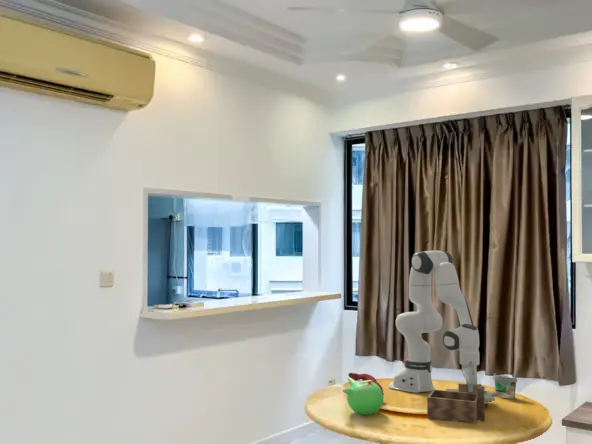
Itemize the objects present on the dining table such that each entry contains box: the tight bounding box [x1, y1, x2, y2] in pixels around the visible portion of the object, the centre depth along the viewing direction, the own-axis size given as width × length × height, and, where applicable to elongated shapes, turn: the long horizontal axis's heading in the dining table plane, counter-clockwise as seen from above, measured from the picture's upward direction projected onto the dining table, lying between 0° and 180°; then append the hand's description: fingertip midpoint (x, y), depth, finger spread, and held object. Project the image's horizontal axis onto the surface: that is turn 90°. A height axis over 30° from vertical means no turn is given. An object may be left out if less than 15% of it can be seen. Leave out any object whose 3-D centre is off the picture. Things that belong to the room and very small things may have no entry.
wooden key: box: [483, 386, 516, 400], centre depth 250 cm, size 13×2×4 cm, turn 67°
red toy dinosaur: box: [348, 372, 385, 396], centre depth 292 cm, size 28×9×15 cm
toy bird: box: [342, 376, 384, 416], centre depth 262 cm, size 18×17×15 cm
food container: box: [492, 372, 518, 398], centre depth 289 cm, size 12×6×10 cm, turn 37°
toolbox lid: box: [446, 383, 496, 403], centre depth 276 cm, size 19×14×6 cm
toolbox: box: [426, 385, 486, 425], centre depth 257 cm, size 22×14×13 cm, turn 67°
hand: (469, 390), depth 276 cm, fingers closed on toolbox lid, 2 cm apart
